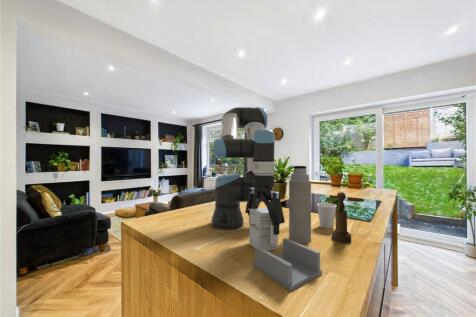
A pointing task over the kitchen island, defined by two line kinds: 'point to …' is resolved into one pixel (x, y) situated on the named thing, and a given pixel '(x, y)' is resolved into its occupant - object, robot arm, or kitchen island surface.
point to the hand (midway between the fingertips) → (263, 238)
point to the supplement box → (261, 229)
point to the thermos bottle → (300, 206)
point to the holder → (289, 264)
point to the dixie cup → (326, 214)
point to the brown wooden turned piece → (341, 222)
